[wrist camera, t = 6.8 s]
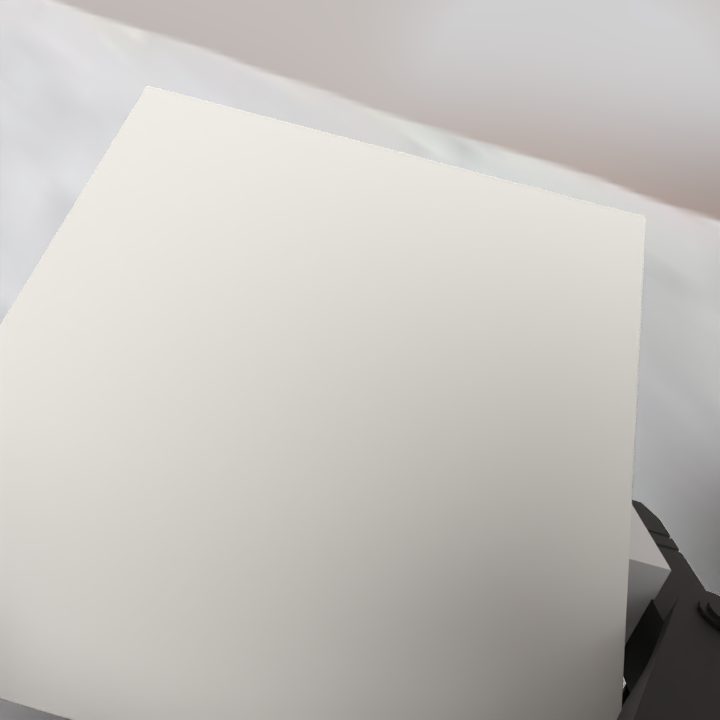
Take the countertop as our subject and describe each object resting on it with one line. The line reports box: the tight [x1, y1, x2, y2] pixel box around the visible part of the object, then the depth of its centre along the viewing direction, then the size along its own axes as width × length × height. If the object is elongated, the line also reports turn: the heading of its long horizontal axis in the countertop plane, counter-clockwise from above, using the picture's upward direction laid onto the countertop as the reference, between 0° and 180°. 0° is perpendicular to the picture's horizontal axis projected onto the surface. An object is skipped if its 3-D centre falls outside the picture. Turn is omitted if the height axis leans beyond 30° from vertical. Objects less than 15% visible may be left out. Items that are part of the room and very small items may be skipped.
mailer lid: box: [0, 85, 646, 720], centre depth 13 cm, size 11×11×8 cm
